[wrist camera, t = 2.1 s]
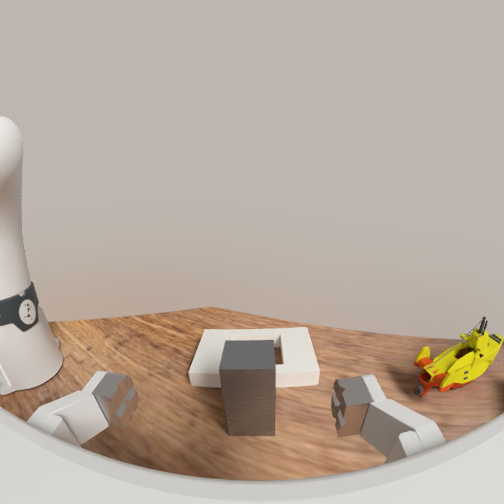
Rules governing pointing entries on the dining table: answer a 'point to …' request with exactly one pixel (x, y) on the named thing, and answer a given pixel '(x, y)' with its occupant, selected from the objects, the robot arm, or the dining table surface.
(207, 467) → the dining table surface
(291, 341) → the white rectangular frame
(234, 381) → the grey metal block
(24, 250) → the robot arm
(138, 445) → the dining table surface
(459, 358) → the toy boat
